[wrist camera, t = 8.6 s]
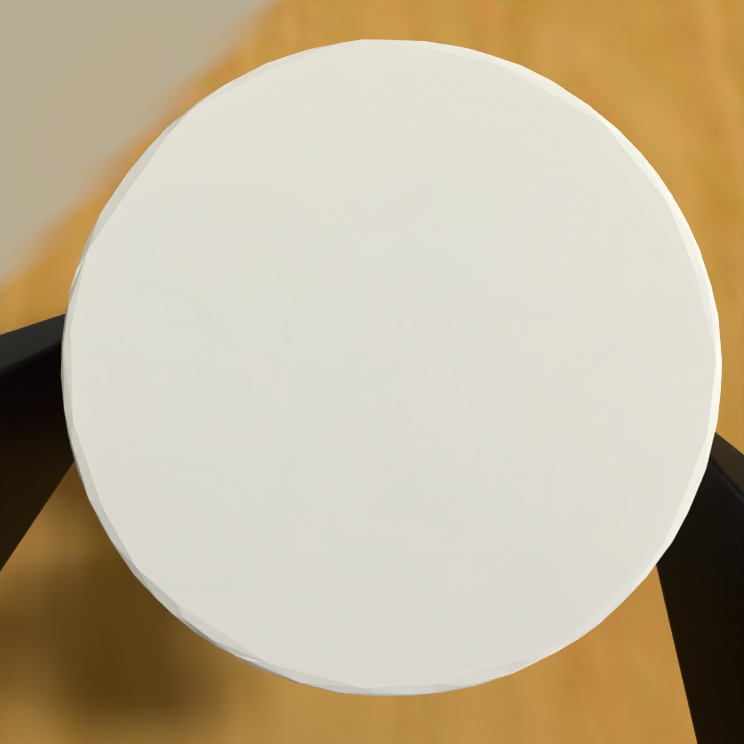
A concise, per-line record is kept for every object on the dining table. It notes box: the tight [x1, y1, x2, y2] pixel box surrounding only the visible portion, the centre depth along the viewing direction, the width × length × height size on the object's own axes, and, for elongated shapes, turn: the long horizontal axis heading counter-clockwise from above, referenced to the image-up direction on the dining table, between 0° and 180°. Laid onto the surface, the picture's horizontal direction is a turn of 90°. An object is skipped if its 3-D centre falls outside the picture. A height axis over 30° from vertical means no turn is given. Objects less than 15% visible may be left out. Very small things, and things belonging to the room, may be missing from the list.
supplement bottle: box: [61, 39, 722, 696], centre depth 10 cm, size 7×7×13 cm
